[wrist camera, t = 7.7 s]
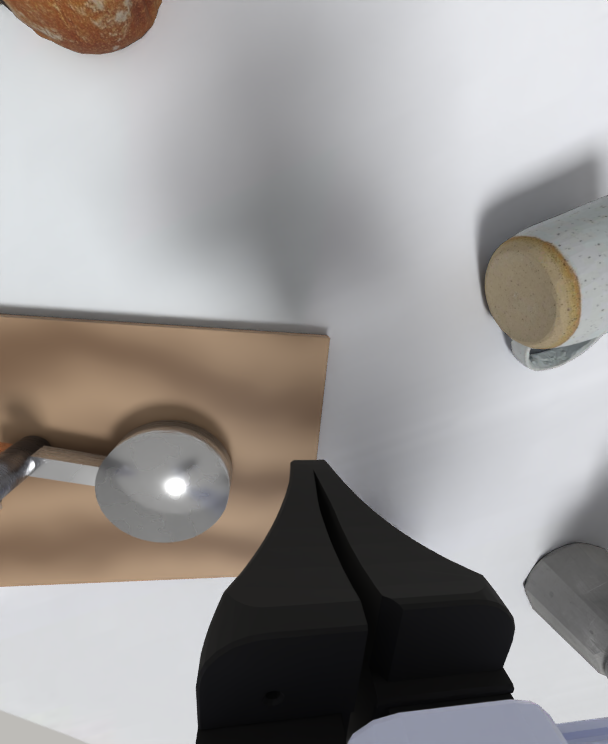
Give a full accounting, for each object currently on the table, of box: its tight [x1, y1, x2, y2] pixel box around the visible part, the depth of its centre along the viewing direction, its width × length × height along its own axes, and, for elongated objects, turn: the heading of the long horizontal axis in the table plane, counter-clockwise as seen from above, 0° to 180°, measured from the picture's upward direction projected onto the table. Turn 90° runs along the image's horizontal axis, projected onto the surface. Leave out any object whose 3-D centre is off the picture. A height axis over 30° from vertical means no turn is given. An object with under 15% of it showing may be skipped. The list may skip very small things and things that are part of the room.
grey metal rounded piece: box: [0, 420, 232, 543], centre depth 18 cm, size 14×8×5 cm, turn 74°
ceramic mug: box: [485, 195, 608, 371], centre depth 18 cm, size 11×8×8 cm
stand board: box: [0, 314, 330, 587], centre depth 21 cm, size 20×23×4 cm
